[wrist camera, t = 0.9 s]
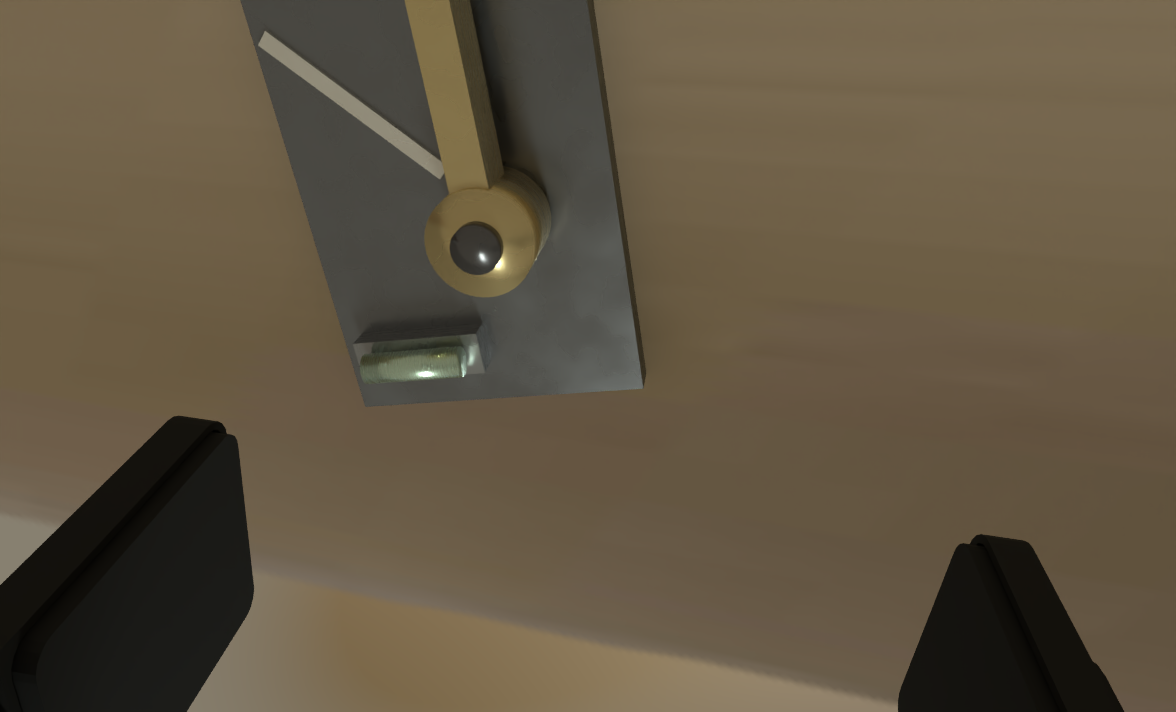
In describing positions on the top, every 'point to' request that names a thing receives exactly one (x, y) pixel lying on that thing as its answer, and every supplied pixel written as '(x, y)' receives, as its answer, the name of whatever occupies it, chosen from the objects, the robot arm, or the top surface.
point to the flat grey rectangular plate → (417, 185)
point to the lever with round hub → (472, 163)
